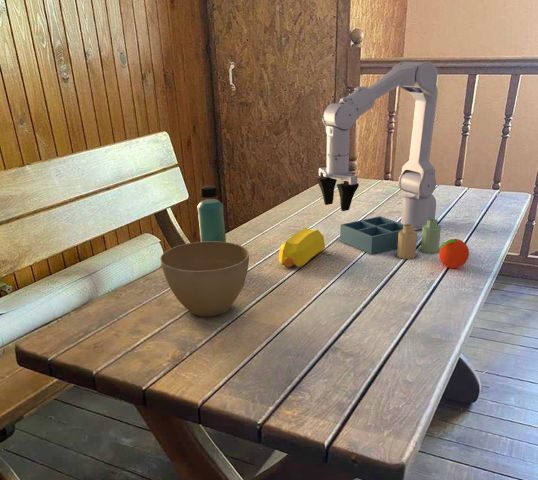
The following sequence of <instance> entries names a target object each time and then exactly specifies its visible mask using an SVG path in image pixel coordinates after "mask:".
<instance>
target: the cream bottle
mask: <svg viewBox="0 0 538 480" xmlns="http://www.w3.org/2000/svg"><path fill="white" fill-rule="evenodd" d="M417 240H418V232H417V230H415V231H414V225H412V224H405V225H403V230H401V231H399V235H398V248H396V249H397V251H396V256H397V258H399V259H405V260H409V259H410V260H411V259H414V258H415V257H416V254H417V253H416V252H417V242H418V241H417Z"/></svg>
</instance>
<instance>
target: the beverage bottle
mask: <svg viewBox="0 0 538 480" xmlns="http://www.w3.org/2000/svg"><path fill="white" fill-rule="evenodd" d="M199 191H200V193H199V196H200V197H201V198H205V199H203V200H201V201H200V202H199V203H198V205H197V206H196V207H197V216H198V225H199V237H200V238H199V240H200V242H204V241H220V242H227V235H226V224H225V216H224V205H223V203H222V202H221V201H220V200H219V199H215V198H216V197H218V195H219V194H218V189H217V186H215V185H205V186H201V187H200V188H199Z"/></svg>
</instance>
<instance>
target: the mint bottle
mask: <svg viewBox="0 0 538 480" xmlns="http://www.w3.org/2000/svg"><path fill="white" fill-rule="evenodd" d="M421 230H422V231H421V241H420V242H421V243H420V251H421V252H424V253H426V254H427V253H428V254H435V253H438V252H439V250H440V239H441V231H442V226H441V225H438V219H437V218H435V219H428V220H427V225H424V226H423V229H421Z"/></svg>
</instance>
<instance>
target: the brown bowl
mask: <svg viewBox="0 0 538 480" xmlns="http://www.w3.org/2000/svg"><path fill="white" fill-rule="evenodd" d="M159 259H160V265H161V269H162V273H163V276H164V278H165V281H166V283H167V285H168V287H169V289H170V290H171V292H172V294H173V295H174V296H175V298H176V299H177V300H178V301H179V303H180V304H181V305H182V306H183V307H184V308H185V309H186V310H187V311H188V312H190V313H191V314H192V315H194V316H197V317H215V316H219V315H222V314H224V313H226V312H227V311H228V310H229V309H230V308H231V307H232V305H233V304H234V303H235V302H236V300H237V299H238V298H239V295H240V294H241V291H242V289H243V287H244V285H245V282H246V279H247V274H248V272H249V271H248V270H249V264H250V253H249V250H248V249H247V248H246V247H244V246H243V245H240V244H237V243H234V242H228V241H226V242H220V241H204V242H201V241H194V242H188V243H183V244H179V245H176V246H174V247H171V248H170V249H166V250H165V251H164V252H163V253H162V254H161V256H160V258H159Z"/></svg>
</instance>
